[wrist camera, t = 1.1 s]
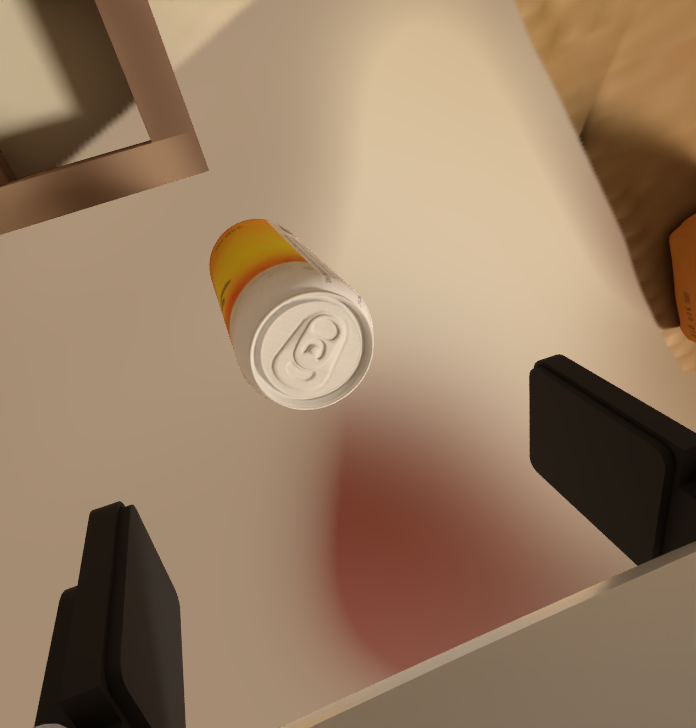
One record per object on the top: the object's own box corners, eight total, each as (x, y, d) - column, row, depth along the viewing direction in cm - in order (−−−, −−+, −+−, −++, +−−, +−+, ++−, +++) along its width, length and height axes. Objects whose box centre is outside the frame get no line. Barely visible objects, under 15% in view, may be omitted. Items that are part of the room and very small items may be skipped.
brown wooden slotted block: (62, -225, 23) (45, -284, 20) (203, 164, 31) (208, 170, 28) (-240, -173, 21) (-319, -229, 18) (-6, 227, 29) (-28, 243, 26)
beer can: (192, 283, 34) (212, 388, 21) (236, 198, 32) (287, 254, 20) (273, 322, 37) (336, 436, 24) (317, 245, 35) (408, 321, 22)
